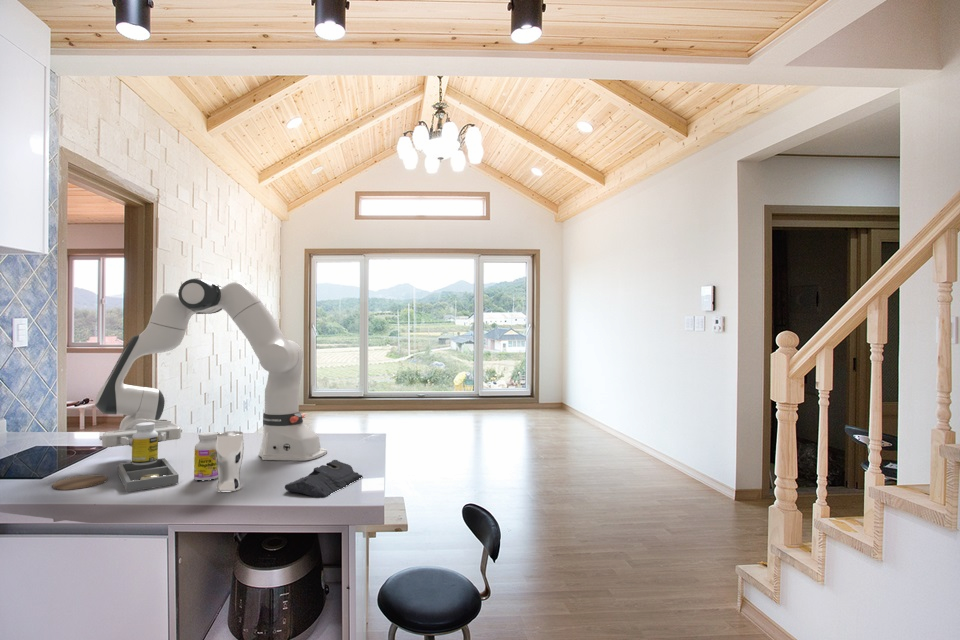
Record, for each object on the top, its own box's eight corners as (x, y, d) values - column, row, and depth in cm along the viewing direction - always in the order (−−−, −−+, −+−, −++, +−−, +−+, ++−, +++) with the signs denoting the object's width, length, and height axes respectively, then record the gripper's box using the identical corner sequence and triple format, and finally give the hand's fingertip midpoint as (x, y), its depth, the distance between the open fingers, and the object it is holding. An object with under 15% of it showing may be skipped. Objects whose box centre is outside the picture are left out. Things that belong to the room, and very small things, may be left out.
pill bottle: (145, 466, 151) (145, 426, 151) (126, 465, 152) (126, 425, 152) (163, 460, 157) (163, 422, 157) (144, 459, 159) (145, 421, 159)
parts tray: (117, 472, 156) (117, 464, 156) (164, 466, 163) (164, 458, 163) (126, 492, 138) (126, 482, 138) (178, 483, 145) (178, 474, 145)
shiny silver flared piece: (234, 483, 146) (235, 429, 146) (248, 488, 142) (248, 433, 142) (209, 490, 140) (210, 433, 140) (222, 495, 136) (223, 437, 136)
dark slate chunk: (274, 495, 138) (274, 477, 138) (322, 473, 159) (322, 457, 159) (324, 500, 134) (324, 482, 134) (367, 477, 155) (367, 461, 155)
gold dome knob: (162, 481, 148) (163, 474, 148) (150, 486, 144) (150, 478, 144) (149, 480, 149) (150, 473, 149) (136, 485, 145) (136, 477, 145)
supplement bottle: (193, 482, 146) (194, 436, 146) (194, 476, 152) (194, 432, 152) (220, 479, 149) (221, 434, 150) (219, 473, 155) (220, 430, 155)
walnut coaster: (117, 478, 150) (117, 476, 150) (76, 491, 138) (76, 489, 138) (84, 475, 152) (84, 473, 152) (41, 487, 141) (41, 485, 141)
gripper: (98, 426, 158) (102, 434, 148) (176, 419, 171) (184, 425, 161) (98, 447, 158) (102, 456, 148) (175, 438, 171) (184, 446, 161)
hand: (145, 440), depth 154 cm, fingers closed on pill bottle, 6 cm apart
